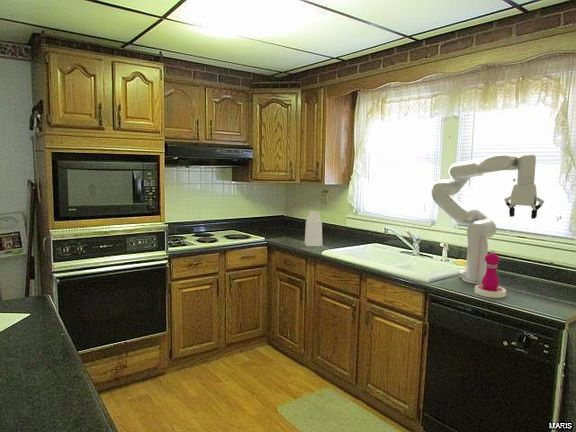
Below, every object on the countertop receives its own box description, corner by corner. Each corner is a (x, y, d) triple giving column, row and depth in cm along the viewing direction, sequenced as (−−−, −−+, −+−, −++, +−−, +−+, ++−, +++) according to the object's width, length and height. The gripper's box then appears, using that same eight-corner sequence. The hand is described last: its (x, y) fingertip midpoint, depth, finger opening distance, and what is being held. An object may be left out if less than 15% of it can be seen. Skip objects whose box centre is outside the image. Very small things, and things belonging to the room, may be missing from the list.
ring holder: (469, 292, 193) (469, 287, 193) (481, 287, 202) (482, 282, 202) (498, 299, 183) (498, 294, 183) (510, 294, 192) (510, 288, 192)
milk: (320, 245, 310) (320, 210, 306) (322, 247, 298) (323, 212, 295) (304, 244, 309) (304, 210, 306) (305, 247, 297) (306, 212, 294)
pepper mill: (487, 289, 198) (490, 248, 195) (501, 293, 191) (505, 251, 189) (477, 291, 194) (480, 249, 192) (491, 295, 188) (494, 252, 186)
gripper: (502, 180, 197) (500, 216, 199) (541, 181, 183) (538, 219, 185) (509, 180, 202) (507, 215, 204) (548, 181, 188) (545, 218, 190)
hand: (522, 217), depth 194 cm, fingers open, 9 cm apart
